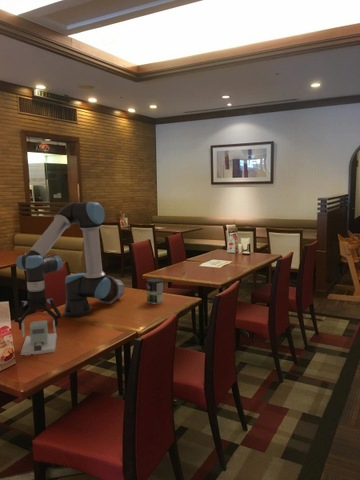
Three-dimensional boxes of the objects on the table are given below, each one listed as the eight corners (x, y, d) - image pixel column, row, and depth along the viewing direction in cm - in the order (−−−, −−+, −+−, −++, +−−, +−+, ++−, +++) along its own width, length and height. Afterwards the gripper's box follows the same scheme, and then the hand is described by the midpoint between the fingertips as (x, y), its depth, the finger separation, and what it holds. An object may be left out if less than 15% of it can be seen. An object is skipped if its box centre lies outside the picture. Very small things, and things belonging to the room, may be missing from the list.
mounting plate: (56, 335, 191) (56, 329, 191) (54, 351, 172) (54, 344, 172) (26, 339, 188) (26, 332, 187) (21, 355, 169) (20, 348, 168)
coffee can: (149, 304, 241) (148, 282, 239) (145, 300, 251) (144, 278, 249) (165, 302, 244) (164, 281, 242) (161, 298, 254) (160, 277, 252)
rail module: (48, 338, 184) (47, 320, 183) (47, 344, 177) (46, 325, 176) (32, 340, 182) (31, 321, 181) (30, 346, 175) (29, 326, 174)
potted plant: (105, 274, 261) (80, 273, 233) (129, 277, 255) (107, 276, 227) (102, 301, 259) (77, 302, 231) (126, 304, 254) (103, 306, 225)
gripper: (5, 294, 170) (8, 340, 173) (64, 289, 176) (67, 334, 179) (8, 289, 177) (11, 334, 180) (65, 285, 183) (67, 328, 186)
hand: (39, 334), depth 179 cm, fingers open, 13 cm apart
